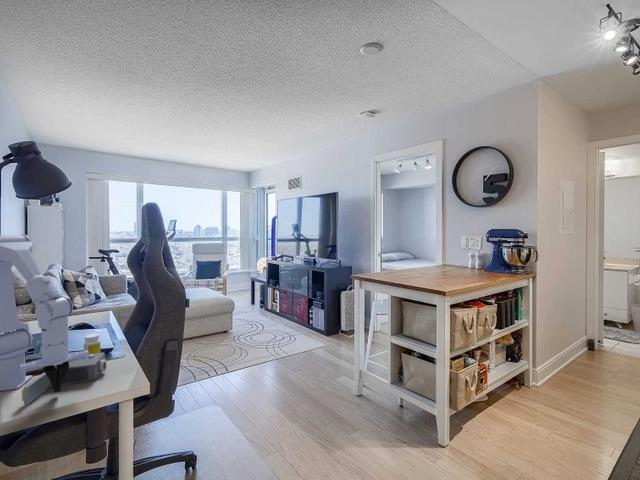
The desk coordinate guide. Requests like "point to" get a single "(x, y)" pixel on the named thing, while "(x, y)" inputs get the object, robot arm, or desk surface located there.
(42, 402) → the desk surface
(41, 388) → the side door
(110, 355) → the desk surface
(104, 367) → the camera body
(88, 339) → the supplement bottle
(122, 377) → the desk surface
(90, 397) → the desk surface
